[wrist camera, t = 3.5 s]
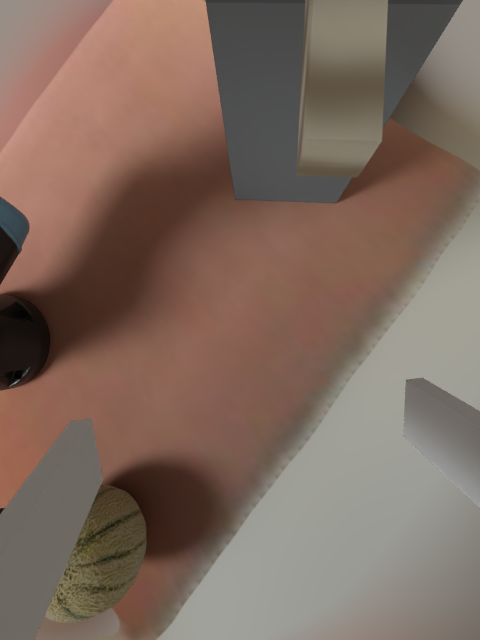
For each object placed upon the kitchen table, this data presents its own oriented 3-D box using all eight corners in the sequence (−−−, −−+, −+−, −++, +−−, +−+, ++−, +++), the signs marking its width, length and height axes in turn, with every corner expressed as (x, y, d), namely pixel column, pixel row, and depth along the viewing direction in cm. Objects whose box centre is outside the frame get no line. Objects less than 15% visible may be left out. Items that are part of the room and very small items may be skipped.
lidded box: (233, 199, 51) (198, -24, 19) (238, 123, 52) (211, -217, 20) (337, 203, 50) (480, -23, 18) (341, 126, 51) (486, -224, 19)
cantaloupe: (133, 582, 49) (80, 690, 34) (51, 535, 50) (-35, 621, 35) (176, 496, 50) (142, 566, 35) (95, 451, 51) (28, 500, 36)
